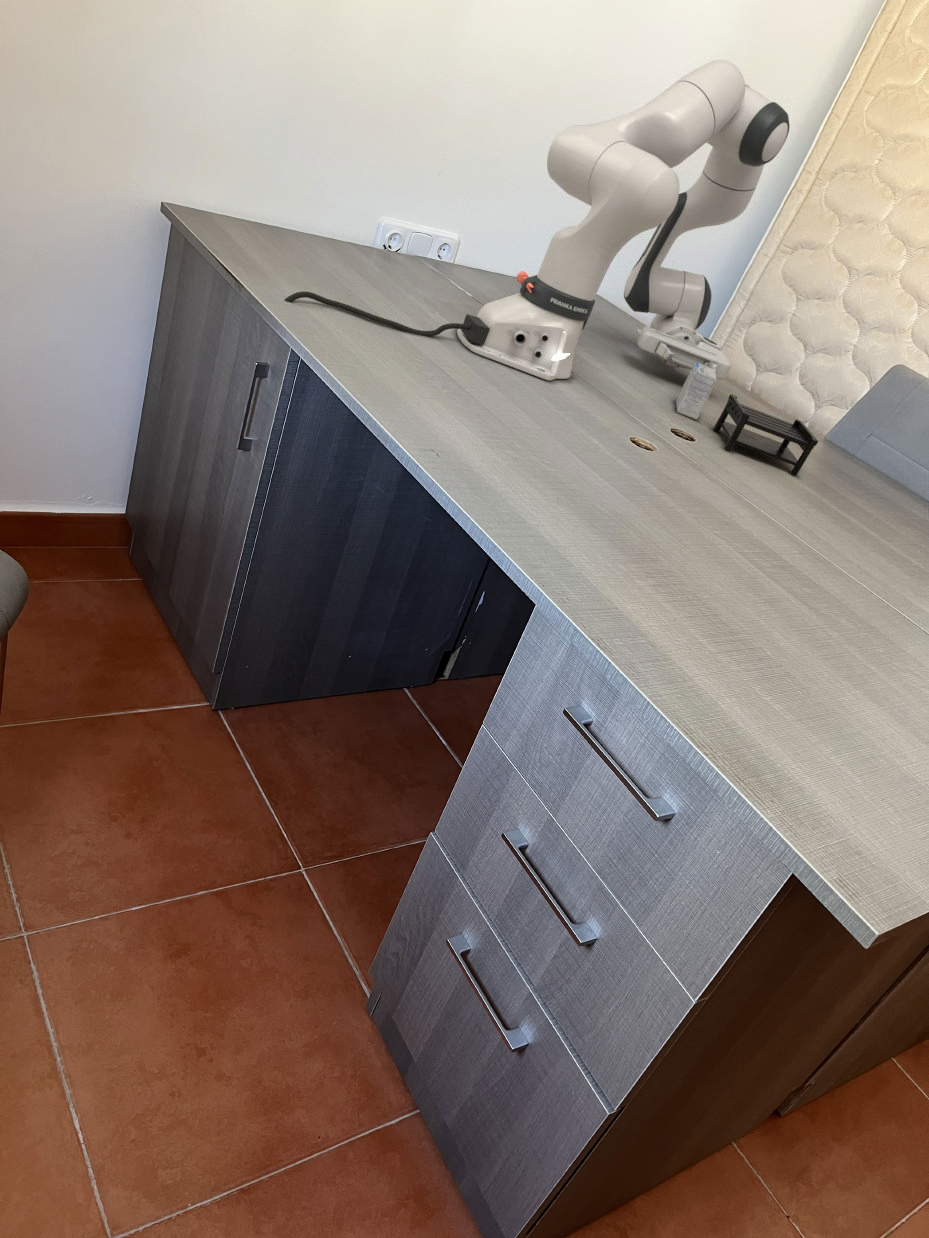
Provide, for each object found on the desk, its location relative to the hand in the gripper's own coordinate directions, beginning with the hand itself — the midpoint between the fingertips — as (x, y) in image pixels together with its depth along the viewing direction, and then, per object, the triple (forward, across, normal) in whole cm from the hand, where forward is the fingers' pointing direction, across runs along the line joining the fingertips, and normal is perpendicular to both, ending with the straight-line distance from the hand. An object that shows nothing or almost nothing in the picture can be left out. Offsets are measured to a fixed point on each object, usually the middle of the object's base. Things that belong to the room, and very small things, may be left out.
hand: (690, 364), depth 190 cm
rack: (+22, +12, +6) cm, 26 cm away
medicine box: (+11, 0, +7) cm, 13 cm away
